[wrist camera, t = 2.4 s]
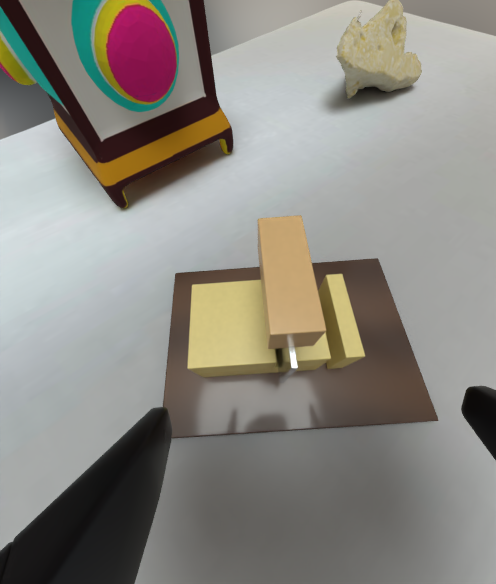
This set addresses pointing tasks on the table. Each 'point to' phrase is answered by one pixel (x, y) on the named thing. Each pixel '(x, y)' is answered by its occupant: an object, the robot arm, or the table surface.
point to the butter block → (237, 333)
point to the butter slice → (339, 323)
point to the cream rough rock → (378, 52)
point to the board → (301, 384)
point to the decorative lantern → (119, 79)
